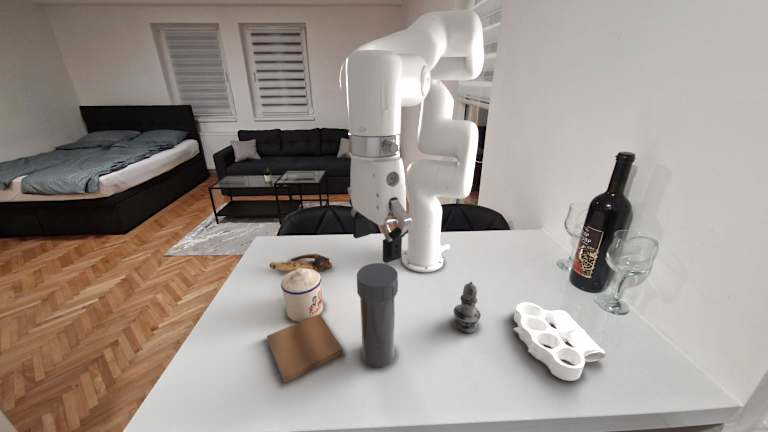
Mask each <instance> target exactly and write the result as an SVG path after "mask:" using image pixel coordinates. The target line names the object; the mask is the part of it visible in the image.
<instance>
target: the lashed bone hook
mask: <svg viewBox="0 0 768 432" xmlns="http://www.w3.org/2000/svg"><path fill="white" fill-rule="evenodd" d="M305 259H312V260H310V261H300V260H305ZM313 259H314V260H313ZM269 267H270V269H271V270H276V271H279V272H285V273H286V272H287V273H290V272H292V271H294V270H297V269H298V268H303V269H312V270H315V271H317V272H322V271H325V270H332V268H333V263H332V262H331V261H330V257H326V256H324V255H321V254H319V253H307V254H302V255H298V256H294V257H293V258H292V259H290V261H272V262H270V263H269Z"/></svg>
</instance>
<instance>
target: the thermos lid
mask: <svg viewBox="0 0 768 432" xmlns="http://www.w3.org/2000/svg"><path fill="white" fill-rule="evenodd" d="M398 276H399V275H398V271H397V270H396V269H395V267H393V266H391V265H389V264H388V263H384V262H383V263H382V262H373V263H368V264H366V265H365V264H364V265H363V266H362V267H361V268H359V269H358V270H357V272H356V285H357V286H356V290H357V295H358V297H359V299H360V298H361V299H363V300H365V301H367V302H370V303H384V302H387V301H390V300H391V299H393V298H394V297H395V298H396V296H397V294H398V291H399V290H398V289H399V280H398V278H399V277H398Z"/></svg>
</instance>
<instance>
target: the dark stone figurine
mask: <svg viewBox="0 0 768 432" xmlns="http://www.w3.org/2000/svg"><path fill="white" fill-rule="evenodd" d="M462 290H463V291H462V294H461V295H460V300H461V303H460V304H457V305H456V306H455V307H454V308H453V315H454V320H453V327H454V328H455V330H457V331H458V332H460V333H462V334H468V335H469V334H474V333H475V332H476V331H477V330H478V324H477V323H478V322H479V320H480V319H481V317H482V316H481V312H480V310H479V309H478V308H477V307H476V304H477V303H478V298H477V294H478V288H477V286H476V285H475V284H474V283H473V282H472V281H470V282H469V283H466V284H464V286H463V289H462Z"/></svg>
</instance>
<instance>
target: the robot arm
mask: <svg viewBox="0 0 768 432" xmlns="http://www.w3.org/2000/svg"><path fill="white" fill-rule="evenodd" d="M482 25H483V24H482V22H481V19H480V16H479V15H478V13H477V12H476V11H474V10H472V9H468V8H467V9H451V10H440V11H439V10H438V11H431V12H426V13H424V14H422V15H420V16H419V17H418V18H417V19H416V20H414V21H413V22H412V23H411V25H409V26H408V27H407V28H406V29H403V30H400V31H396V32H394V33H391V34H389V35H386V36H383V37H380V38H377V39H374V40H371V41H368V42H366V43H364V44H361V45H360V46H358V47H357V48H356V49H355V50H353V51H352V52H350V54H349V55H348V56H347V57H346V59H345V60H344V62H343V63H342V65H341V68H340V73H339V86H340V87H339V88H340V90H341V93H342V95H343V97H344V99H346V100H347V121H348V122H347V123H348V146H349V149H348V150H349V157H350V171H349V172H350V173H349V175H350V177H349V179H350V181H349V183H350V184H349V185H350V186H349V187H347V193H348V197H349V202H348V204H349V205H350V207H351V210H350V215H351V216H352V237H353V238H354V239H360V238H363V237H366V236H370V235H371V222H373V223H374V224H375V225H378V226H380V228H381V231H382V234H383V235H384V239H382V262H383V264H388V263H391V262H395V261H398V260H400V259H401V262H402V264H403V265H404V267H406V268H407V269H409V270H411V271H413V272H417V273H432V272H436V271H438V270H440V269H441V268H442V267H443V265H444V257H443V255H442V254H443V253H444V252H446V251H449V250H450V249H451V246H450V243H445V244H442V243H441V232H442V231H441V230H442V220H443V206H442V204H441V202H440V200H439V199H438V197H440V198H448V199H457V200H462V199H465V198H467V197H468V196H469V195H470V193H471V191H472V187H473V180H474V173H475V167H476V159H477V151H478V147H479V146H478V143H479V129H478V126H477V124H476V123H475V122H473V121H472V120H467V119H453V112H454V106H455V101H454V97H453V95H452V94H451V92H450V90H449V89H448V88H447V86H445V84H444V83H443V82H442V81H472V80H475V79H477V78H478V77H479V76H480V74H481V72H482V70H483V67H484V63H485V47H484V32H483V31H484V30H483V26H482ZM419 104H421V105H420V113H419V122H418V127H417V128H418V129H417V138H416V139H417V140H416V147H417V150H418V151H419V152H420V153H422V154H424V155H428V156H429V155H430V156H438V157H450V158H455V159H456V160H457V161H447V160H438V159H423V158H422V159H417V160H414V161H412V162H411V163H410V164H409V165H408V166H407V170H406V173H405V168H404V161H403V158H402V157H401V137H402V136H401V135H402V134H401V133H402V132H401V131H402V127H401V126H402V108H403V107H405V108H408V107H409V108H410V107H414V106H418V105H419ZM406 185H407V186H406ZM407 191H408V192H407ZM407 193H408V211H407ZM388 217H391V218H388ZM389 225H393V227H394V228H393V229H392V230H391V229H390V227H389ZM406 235H407V250H406V251H405V252H404V253H403V254H402V248H403V244H402V243H403V238H405V236H406Z"/></svg>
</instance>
